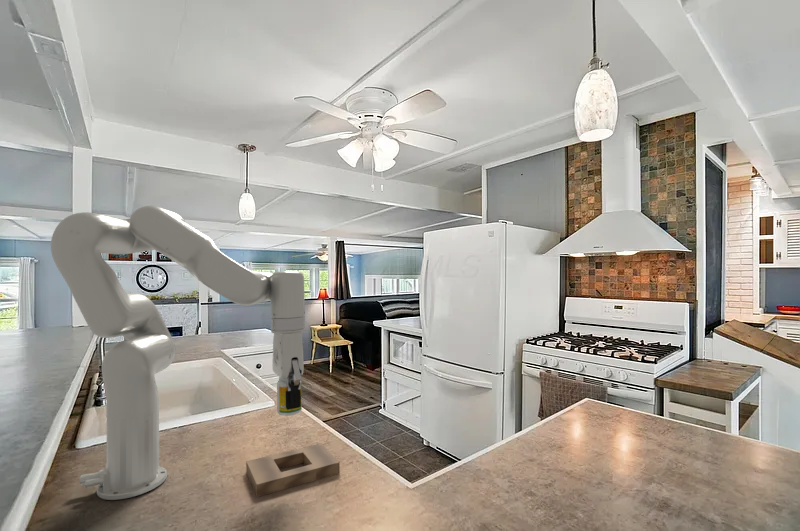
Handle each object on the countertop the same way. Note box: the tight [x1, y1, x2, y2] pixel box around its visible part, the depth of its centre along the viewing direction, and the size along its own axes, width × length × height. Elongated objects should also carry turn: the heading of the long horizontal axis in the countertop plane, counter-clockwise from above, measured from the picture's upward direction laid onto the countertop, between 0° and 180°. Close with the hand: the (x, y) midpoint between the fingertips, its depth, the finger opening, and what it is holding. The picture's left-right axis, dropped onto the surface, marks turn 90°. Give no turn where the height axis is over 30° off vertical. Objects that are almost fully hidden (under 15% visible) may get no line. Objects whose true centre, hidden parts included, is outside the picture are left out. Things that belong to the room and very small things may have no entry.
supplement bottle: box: [276, 373, 303, 417], centre depth 90 cm, size 5×5×10 cm
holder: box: [245, 442, 341, 498], centre depth 90 cm, size 18×12×2 cm, turn 121°
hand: (289, 403), depth 90 cm, fingers closed on supplement bottle, 5 cm apart
